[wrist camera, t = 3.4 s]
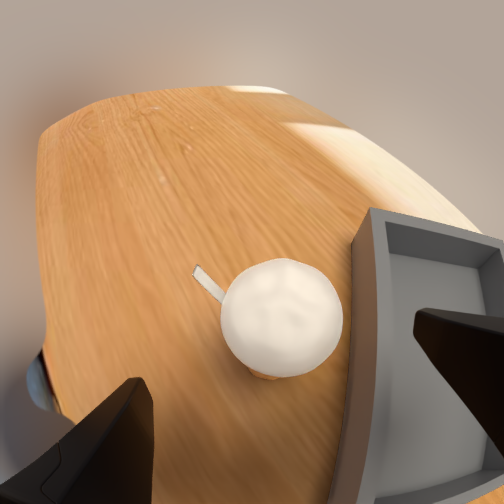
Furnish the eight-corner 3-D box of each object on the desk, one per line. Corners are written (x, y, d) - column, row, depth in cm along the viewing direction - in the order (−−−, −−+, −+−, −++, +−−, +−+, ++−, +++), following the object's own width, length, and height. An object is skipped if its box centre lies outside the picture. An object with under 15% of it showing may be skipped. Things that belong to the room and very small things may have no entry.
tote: (479, 476, 10) (515, 477, 6) (325, 510, 11) (346, 534, 7) (476, 266, 20) (502, 240, 16) (351, 243, 21) (369, 207, 17)
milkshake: (232, 311, 18) (218, 214, 10) (310, 331, 18) (366, 249, 9) (211, 375, 16) (167, 334, 8) (294, 397, 15) (349, 382, 7)
